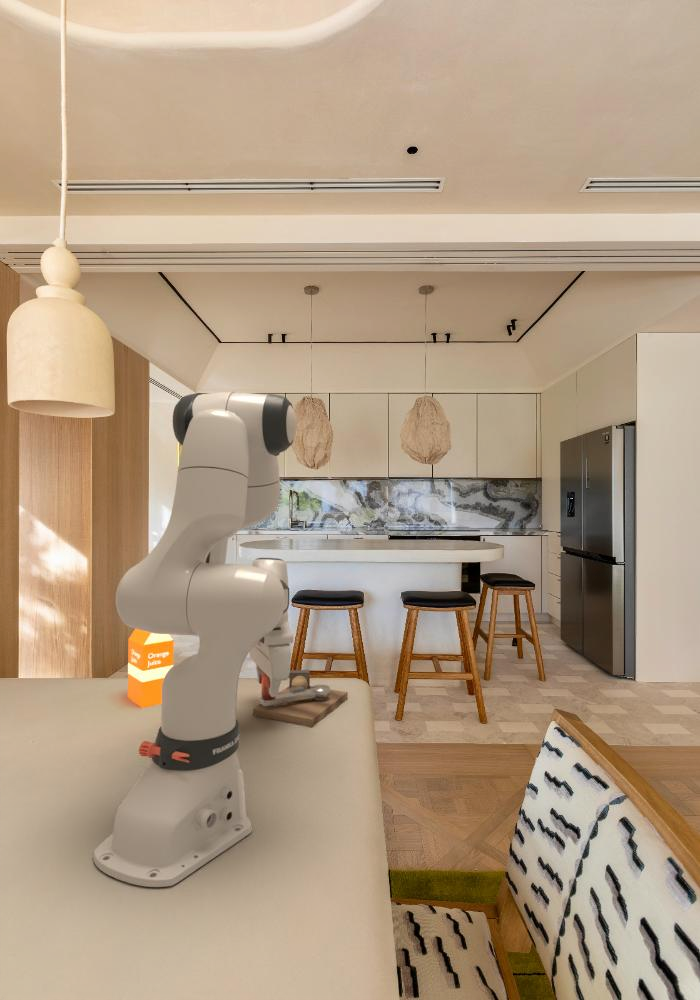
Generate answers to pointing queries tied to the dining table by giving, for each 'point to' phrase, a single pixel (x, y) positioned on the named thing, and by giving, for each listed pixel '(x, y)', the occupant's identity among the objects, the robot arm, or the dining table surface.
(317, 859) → the dining table surface
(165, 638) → the orange juice
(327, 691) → the lever
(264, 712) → the board
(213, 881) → the dining table surface
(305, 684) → the wooden ball
